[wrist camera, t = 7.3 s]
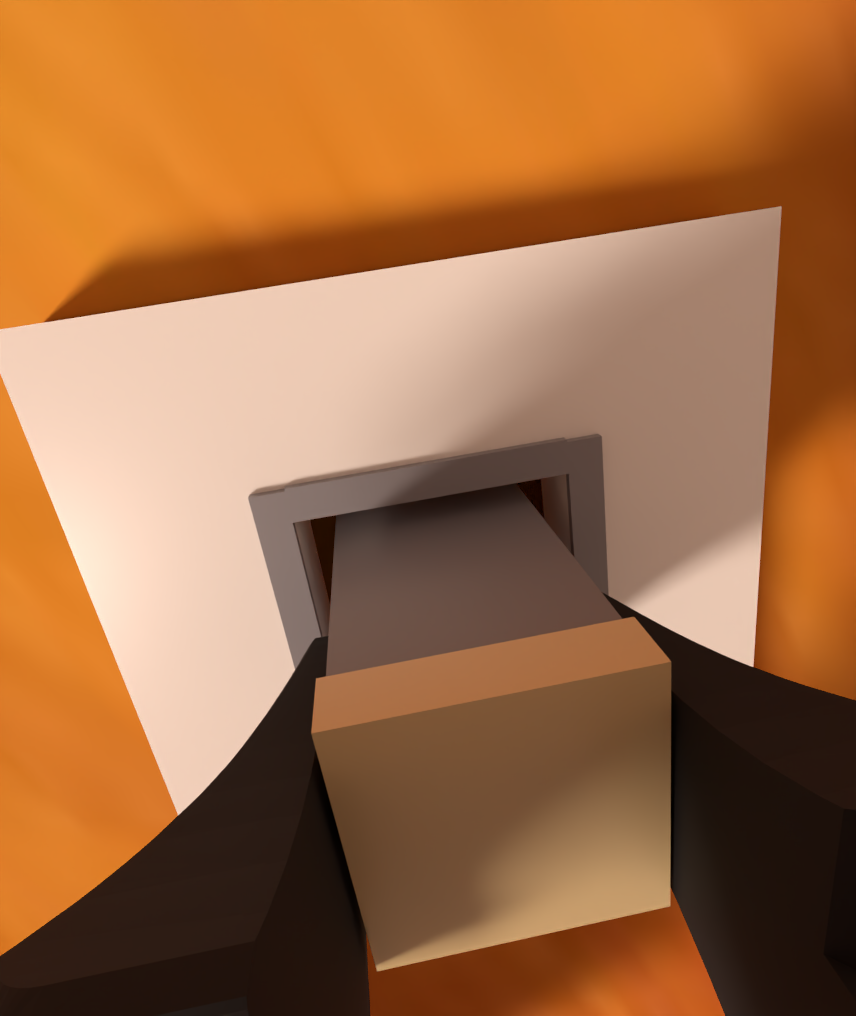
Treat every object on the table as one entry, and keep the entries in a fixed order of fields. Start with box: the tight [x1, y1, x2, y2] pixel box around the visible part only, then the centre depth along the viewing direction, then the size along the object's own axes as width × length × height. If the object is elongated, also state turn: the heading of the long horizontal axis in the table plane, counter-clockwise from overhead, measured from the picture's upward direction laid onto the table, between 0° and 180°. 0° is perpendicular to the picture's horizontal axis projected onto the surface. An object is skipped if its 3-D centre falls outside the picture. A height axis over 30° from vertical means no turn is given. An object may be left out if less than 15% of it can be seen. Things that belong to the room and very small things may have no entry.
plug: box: [311, 483, 671, 971], centre depth 11 cm, size 4×4×7 cm
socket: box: [0, 206, 782, 815], centre depth 14 cm, size 14×14×2 cm
